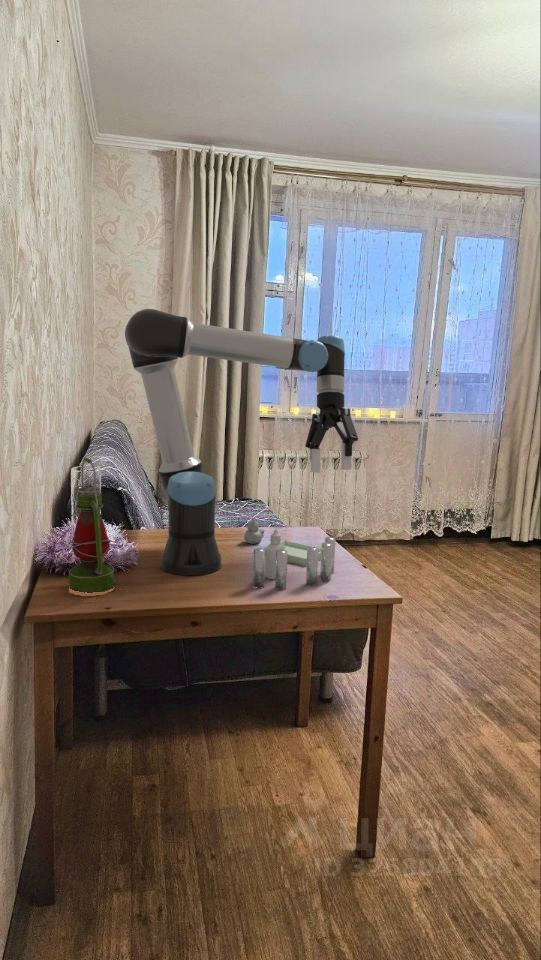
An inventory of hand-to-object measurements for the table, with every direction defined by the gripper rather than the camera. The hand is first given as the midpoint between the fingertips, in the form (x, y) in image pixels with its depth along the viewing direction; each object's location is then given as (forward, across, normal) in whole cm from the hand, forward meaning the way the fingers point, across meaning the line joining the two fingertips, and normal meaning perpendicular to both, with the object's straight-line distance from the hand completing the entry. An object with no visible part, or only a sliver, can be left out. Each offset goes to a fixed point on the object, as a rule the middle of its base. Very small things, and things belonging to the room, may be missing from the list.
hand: (330, 471), depth 172 cm
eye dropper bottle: (+28, -4, +20) cm, 34 cm away
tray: (+23, +7, +7) cm, 25 cm away
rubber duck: (+20, +22, +10) cm, 32 cm away
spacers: (+28, -9, +16) cm, 34 cm away
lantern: (+30, +9, +61) cm, 69 cm away
